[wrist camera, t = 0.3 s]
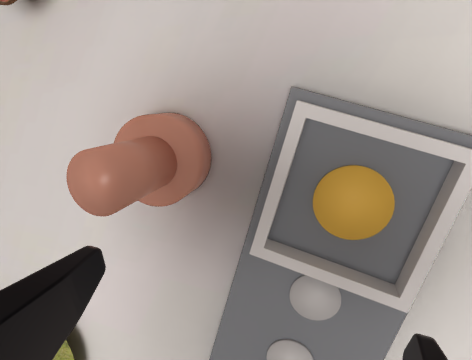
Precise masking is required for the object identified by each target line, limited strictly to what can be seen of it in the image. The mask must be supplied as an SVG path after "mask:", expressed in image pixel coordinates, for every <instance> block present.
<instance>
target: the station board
mask: <svg viewBox="0 0 472 360" xmlns="http://www.w3.org/2000/svg"><path fill="white" fill-rule="evenodd" d="M471 188H472V136H471V135H468V134H464V133H460V132H457V131H453V130H449V129H446V128H442V127H438V126H435V125H431V124H427V123H424V122H420V121H416V120H413V119H409V118H406V117H402V116H398V115H395V114H391V113H387V112H384V111H380V110H376V109H373V108H369V107H365V106H362V105H358V104H354V103H351V102H347V101H343V100H340V99H336V98H332V97H329V96H325V95H321V94H318V93H314V92H310V91H307V90H303V89H299V88H296V87H291V90H290V93H289V97H288V100H287V103H286V107H285V110H284V113H283V117H282V120H281V123H280V127H279V130H278V133H277V137H276V140H275V143H274V147H273V150H272V153H271V157H270V160H269V163H268V167H267V170H266V173H265V176H264V180H263V183H262V186H261V190H260V193H259V196H258V200H257V203H256V206H255V210H254V213H253V216H252V220H251V223H250V226H249V230H248V233H247V236H246V240H245V243H244V246H243V250H242V253H241V256H240V259H239V263H238V266H237V269H236V273H235V276H234V279H233V283H232V286H231V289H230V293H229V296H228V299H227V303H226V306H225V309H224V313H223V316H222V319H221V323H220V326H219V329H218V333H217V336H216V339H215V342H214V346H213V349H212V352H211V356H210V359H209V360H384V358H385V356H386V355H387V353H388V351H389V349H390V347H391V345H392V343H393V341H394V339H395V337H396V335H397V333H398V331H399V329H400V327H401V325H402V323H403V321H404V319H405V317H406V315H407V313H408V312H409V310H410V308H411V306H412V304H413V302H414V300H415V298H416V296H417V294H418V292H419V290H420V288H421V286H422V284H423V282H424V280H425V279H426V277H427V275H428V273H429V271H430V269H431V267H432V265H433V263H434V261H435V259H436V257H437V255H438V253H439V251H440V249H441V247H442V245H443V243H444V241H445V239H446V237H447V235H448V233H449V231H450V230H451V228H452V226H453V224H454V222H455V220H456V218H457V216H458V214H459V212H460V210H461V208H462V206H463V204H464V202H465V200H466V198H467V196H468V194H469V192H470V190H471Z"/></svg>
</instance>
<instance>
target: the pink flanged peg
mask: <svg viewBox="0 0 472 360" xmlns="http://www.w3.org/2000/svg"><path fill="white" fill-rule="evenodd" d="M210 165H211V150H210V145H209V142H208V140H207V138H206V136H205V134H204V132H203V131H202V129H201V128H200V127H199V126H198V125H197V124H196V123H195V122H194V121H192V120H191V119H189V118H187V117H186V116H183V115H180V114H176V113H161V114H151V115H142V116H138V117H136V118H133V119H132V120H130V121H128V122H127V123H126V124H125V125H124V126H123V127H122V128H121V129H120V131H119V132H118V134H117V136H116V138H115V141H114V144H109V145H104V146H100V147H95V148H91V149H86V150H83V151H80V152H79V153H77V154H76V155H75V156H74V157H73V158H72V159H71V161H70V163H69V165H68V169H67V184H68V188H69V191H70V193H71V195H72V197H73V199H74V200H75V202H76V203H77V204H78V205H79V206H80V207H81V208H82V209H83V210H85V211H86V212H88V213H90V214H92V215H96V216H109V215H112V214H114V213H116V212H117V211H119V210H121V209H123V208H125V207H127V206H128V205H130V204H132V203H134V202H136V201H140V202H142V203H144V204H147V205H151V206H168V205H171V204H174V203H176V202H178V201H179V200H181V199H182V198H184V197H185V196H186V195H188V194H189V193H191V192H192V191H193V190H195V189H196V188H198V187H199V186H200V185H201V184H202V183H203V181H204V180H205V178H206V177H207V175H208V172H209V169H210Z"/></svg>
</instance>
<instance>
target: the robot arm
mask: <svg viewBox="0 0 472 360" xmlns="http://www.w3.org/2000/svg"><path fill="white" fill-rule="evenodd" d="M105 267H106V266H105V262H104V258H103V254H102V251H101V249H99V248H97V247H93V246H85V247H83V248H81V249H79V250H77V251H75V252H74V253H72V254H70V255H68V256H66V257H64V258H62V259H60V260H58V261H56V262H54V263H52V264H50V265H49V266H47V267H45V268H43V269H41V270H39V271H37V272H35V273H33V274H31V275H29V276H27V277H25V278H23V279H22V280H20V281H18V282H16V283H14V284H12V285H10V286H8V287H6V288H4V289H2V290H0V360H53V358H54V357H55V355H56V354H57V352H58V351H59V349H60V348H61V346H62V345H63V343H64V342H65V340H66V339H67V337H68V336H69V334H70V333H71V331H72V330H73V328H74V327H75V325H76V324H77V322H78V321H79V319H80V317H81V316H82V314H83V312H84V310H85V308H86V307H87V305H88V303H89V301H90V299H91V297H92V295H93V293H94V292H95V290H96V288H97V286H98V284H99V282H100V280H101V278H102V277H103V275H104V272H105ZM403 360H448V359H447V357H446V356H445V354H444V353H443V351H442V350H441V348H440V347H439V345H438V344H437V342H436V341H435V340H434V339H433V338H431V337H428V336H425V335H421V334H414V335H413V337H412V338H411V340H410V342H409V343H408V345H407V347H406V348H405V350H404V353H403Z"/></svg>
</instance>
